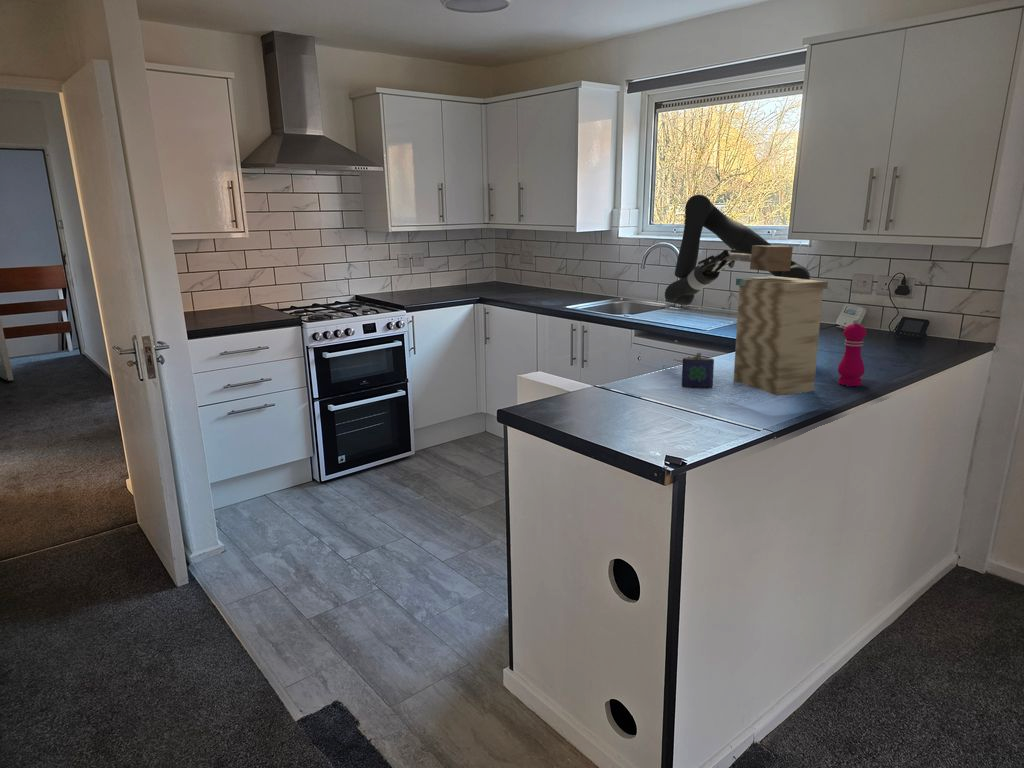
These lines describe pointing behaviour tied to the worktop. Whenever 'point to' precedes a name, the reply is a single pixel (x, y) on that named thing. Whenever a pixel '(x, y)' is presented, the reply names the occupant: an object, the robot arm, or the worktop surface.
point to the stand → (778, 333)
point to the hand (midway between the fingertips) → (731, 252)
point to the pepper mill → (852, 355)
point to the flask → (697, 372)
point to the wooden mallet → (766, 258)
